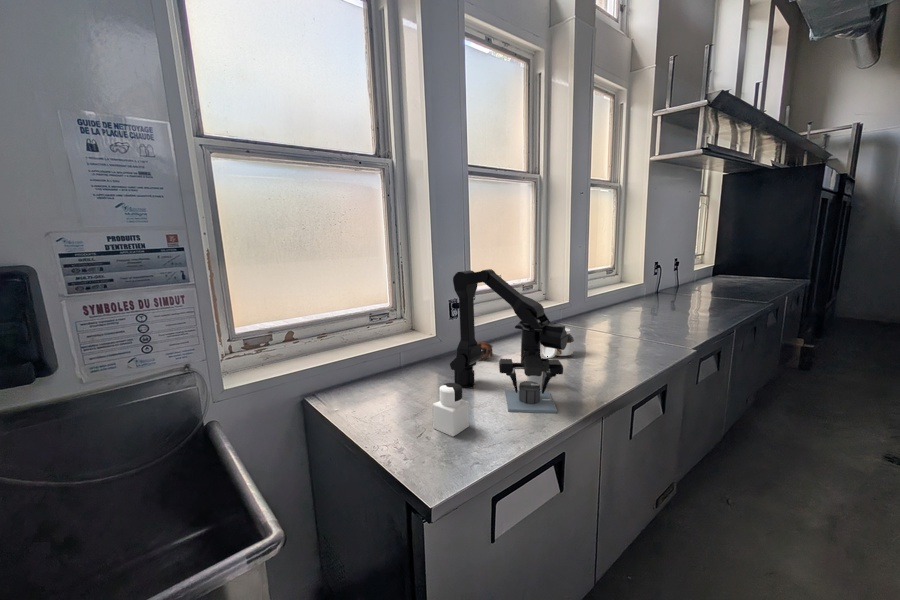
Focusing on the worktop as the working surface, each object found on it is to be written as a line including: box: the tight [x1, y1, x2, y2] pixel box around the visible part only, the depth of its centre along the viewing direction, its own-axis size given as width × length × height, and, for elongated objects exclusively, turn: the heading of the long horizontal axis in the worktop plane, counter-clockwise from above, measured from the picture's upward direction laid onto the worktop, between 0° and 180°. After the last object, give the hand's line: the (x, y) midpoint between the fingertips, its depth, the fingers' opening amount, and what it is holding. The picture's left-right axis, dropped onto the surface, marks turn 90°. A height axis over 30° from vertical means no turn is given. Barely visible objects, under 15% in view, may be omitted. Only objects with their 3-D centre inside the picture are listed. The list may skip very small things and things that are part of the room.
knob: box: [518, 380, 541, 404], centre depth 113 cm, size 6×6×5 cm
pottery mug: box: [476, 340, 494, 362], centre depth 156 cm, size 12×10×8 cm
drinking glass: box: [526, 354, 548, 390], centre depth 125 cm, size 7×7×10 cm
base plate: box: [504, 389, 558, 414], centre depth 114 cm, size 14×14×4 cm
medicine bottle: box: [432, 382, 470, 437], centre depth 98 cm, size 7×7×12 cm
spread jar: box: [541, 327, 575, 359], centre depth 157 cm, size 12×11×12 cm
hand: (529, 392), depth 113 cm, fingers open, 8 cm apart
